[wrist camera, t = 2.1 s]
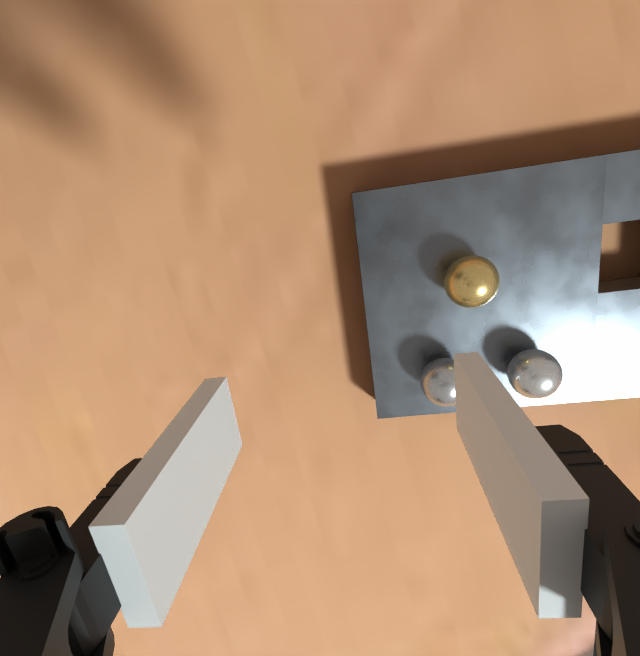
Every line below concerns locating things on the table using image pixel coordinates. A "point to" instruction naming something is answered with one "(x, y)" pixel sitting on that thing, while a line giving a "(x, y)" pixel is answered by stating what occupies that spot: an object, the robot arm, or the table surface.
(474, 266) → the brass ball
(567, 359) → the hole plate
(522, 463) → the robot arm
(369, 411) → the table surface
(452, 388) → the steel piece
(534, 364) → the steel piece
